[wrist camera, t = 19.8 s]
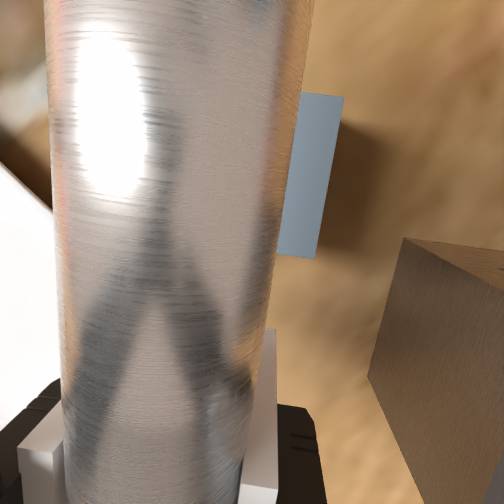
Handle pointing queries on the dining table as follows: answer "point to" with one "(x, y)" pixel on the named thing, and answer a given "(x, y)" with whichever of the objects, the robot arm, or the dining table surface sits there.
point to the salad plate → (26, 297)
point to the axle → (166, 233)
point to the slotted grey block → (445, 370)
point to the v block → (309, 173)
